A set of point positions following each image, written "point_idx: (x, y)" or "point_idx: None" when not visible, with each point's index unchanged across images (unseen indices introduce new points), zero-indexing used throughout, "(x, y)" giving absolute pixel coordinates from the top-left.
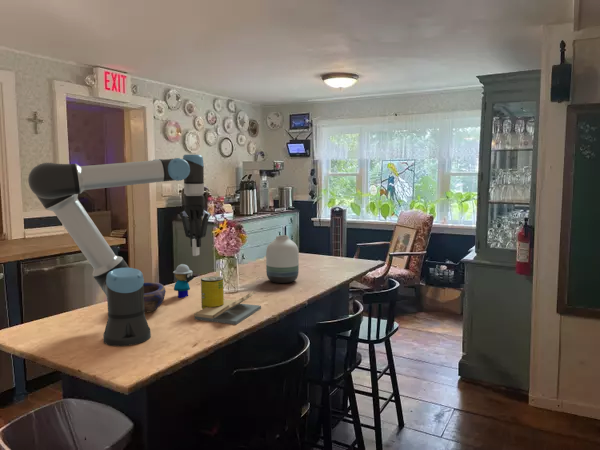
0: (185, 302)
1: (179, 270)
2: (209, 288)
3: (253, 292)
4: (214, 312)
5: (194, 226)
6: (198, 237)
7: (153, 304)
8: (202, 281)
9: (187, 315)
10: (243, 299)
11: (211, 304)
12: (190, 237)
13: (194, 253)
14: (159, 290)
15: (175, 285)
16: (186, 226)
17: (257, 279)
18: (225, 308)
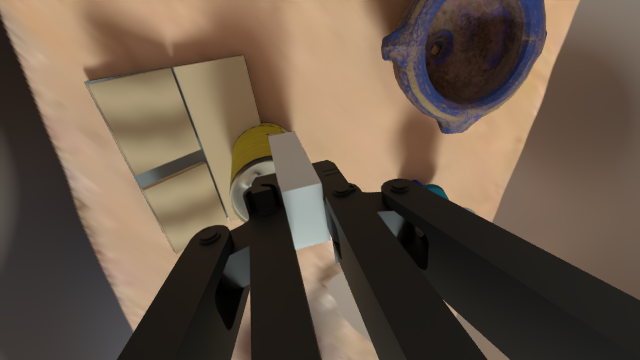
0: (376, 161)
1: None
2: (250, 150)
3: (173, 248)
4: (196, 96)
5: (375, 338)
6: (250, 221)
7: (397, 27)
8: None
9: (291, 74)
10: (144, 187)
11: (245, 134)
12: (345, 186)
13: (281, 140)
14: (414, 61)
15: (441, 193)
16: (483, 265)
17: (344, 355)
18: (108, 80)
